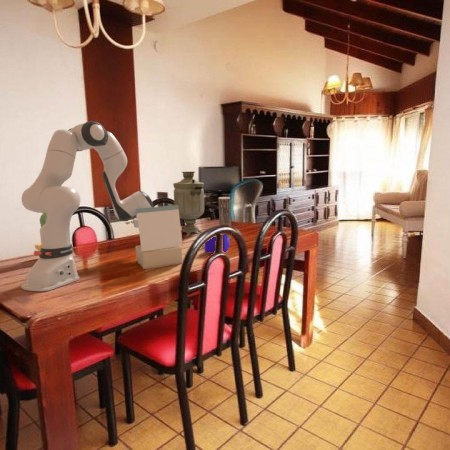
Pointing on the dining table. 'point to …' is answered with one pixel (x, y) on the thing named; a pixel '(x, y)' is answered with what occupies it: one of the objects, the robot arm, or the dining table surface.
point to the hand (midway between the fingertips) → (159, 223)
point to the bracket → (211, 244)
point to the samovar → (189, 200)
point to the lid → (159, 227)
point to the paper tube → (224, 212)
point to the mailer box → (159, 257)
